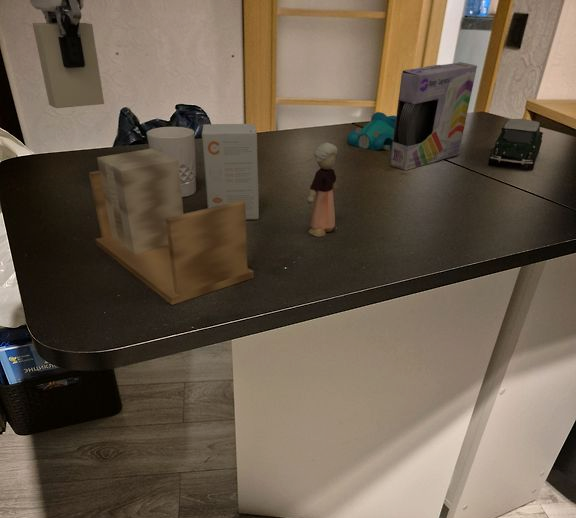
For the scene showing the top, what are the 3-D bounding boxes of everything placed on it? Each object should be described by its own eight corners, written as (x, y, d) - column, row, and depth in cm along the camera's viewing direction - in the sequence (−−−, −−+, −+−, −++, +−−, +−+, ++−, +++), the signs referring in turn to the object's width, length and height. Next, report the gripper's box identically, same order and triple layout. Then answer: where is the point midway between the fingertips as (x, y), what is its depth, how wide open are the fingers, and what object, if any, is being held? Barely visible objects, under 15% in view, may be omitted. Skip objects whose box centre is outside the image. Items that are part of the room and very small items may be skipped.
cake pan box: (402, 172, 108) (417, 71, 98) (384, 166, 111) (396, 68, 101) (460, 157, 118) (479, 64, 108) (442, 152, 121) (458, 61, 111)
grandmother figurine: (326, 241, 80) (332, 150, 72) (302, 237, 81) (305, 147, 73) (341, 223, 86) (348, 138, 78) (318, 220, 87) (323, 135, 79)
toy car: (343, 144, 126) (345, 112, 122) (387, 131, 137) (390, 102, 132) (381, 152, 120) (385, 120, 116) (424, 139, 131) (429, 108, 127)
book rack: (171, 305, 64) (158, 204, 57) (96, 245, 77) (77, 157, 70) (254, 278, 70) (251, 183, 63) (170, 227, 83) (160, 144, 76)
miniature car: (538, 152, 122) (549, 113, 117) (531, 173, 109) (543, 130, 104) (497, 148, 125) (506, 109, 120) (485, 167, 112) (495, 125, 107)
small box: (257, 206, 91) (255, 122, 83) (259, 220, 86) (257, 132, 78) (208, 207, 91) (202, 123, 83) (208, 221, 86) (201, 132, 78)
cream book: (55, 108, 85) (39, 24, 78) (49, 105, 87) (32, 23, 80) (104, 104, 89) (92, 24, 83) (97, 101, 91) (84, 22, 84)
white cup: (174, 182, 101) (168, 124, 95) (208, 190, 98) (203, 130, 92) (145, 194, 96) (136, 133, 89) (179, 202, 92) (173, 139, 86)
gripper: (-5, -89, 77) (28, 60, 88) (34, -96, 67) (65, 74, 78) (48, -84, 81) (73, 59, 92) (92, -90, 71) (115, 71, 82)
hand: (69, 64), depth 85 cm, fingers closed on cream book, 3 cm apart
